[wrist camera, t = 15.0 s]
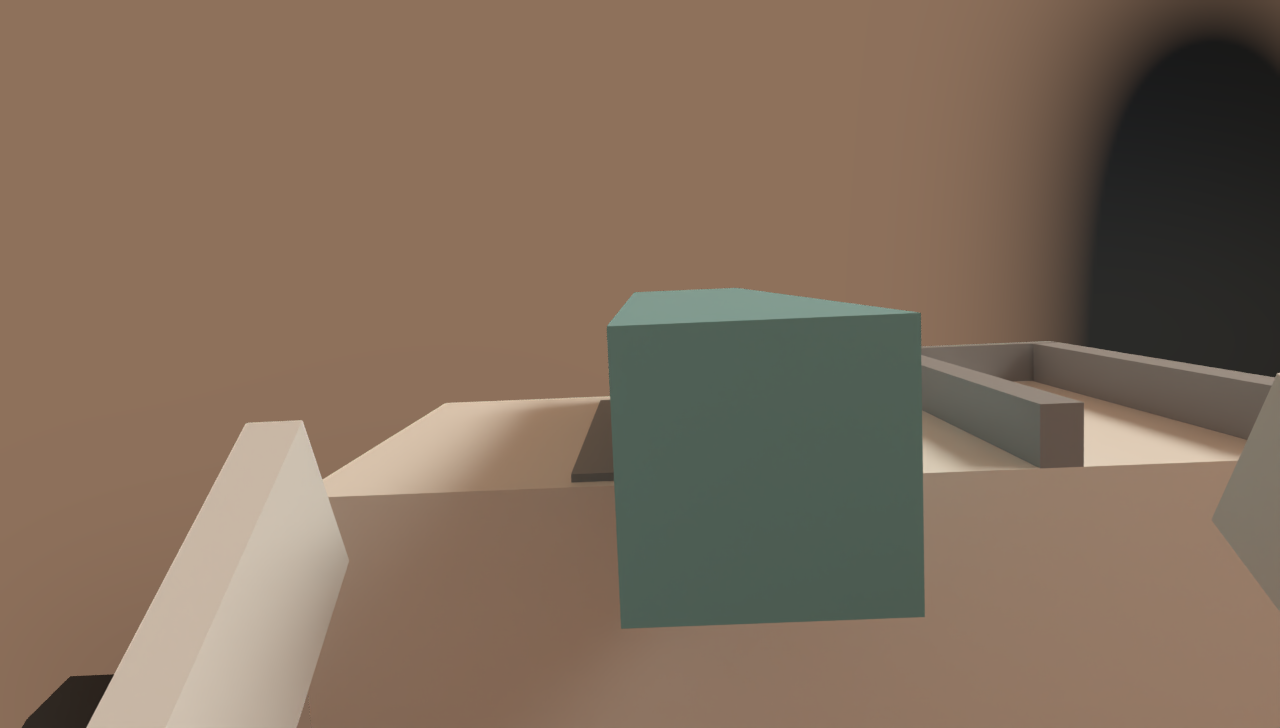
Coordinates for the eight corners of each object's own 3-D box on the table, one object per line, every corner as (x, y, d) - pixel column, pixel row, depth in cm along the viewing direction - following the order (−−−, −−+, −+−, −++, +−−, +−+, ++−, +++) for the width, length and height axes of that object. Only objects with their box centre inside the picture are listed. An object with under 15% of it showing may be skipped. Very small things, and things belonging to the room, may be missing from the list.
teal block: (925, 617, 12) (920, 312, 12) (621, 629, 12) (607, 325, 12) (740, 389, 36) (736, 287, 35) (638, 393, 36) (634, 292, 35)
